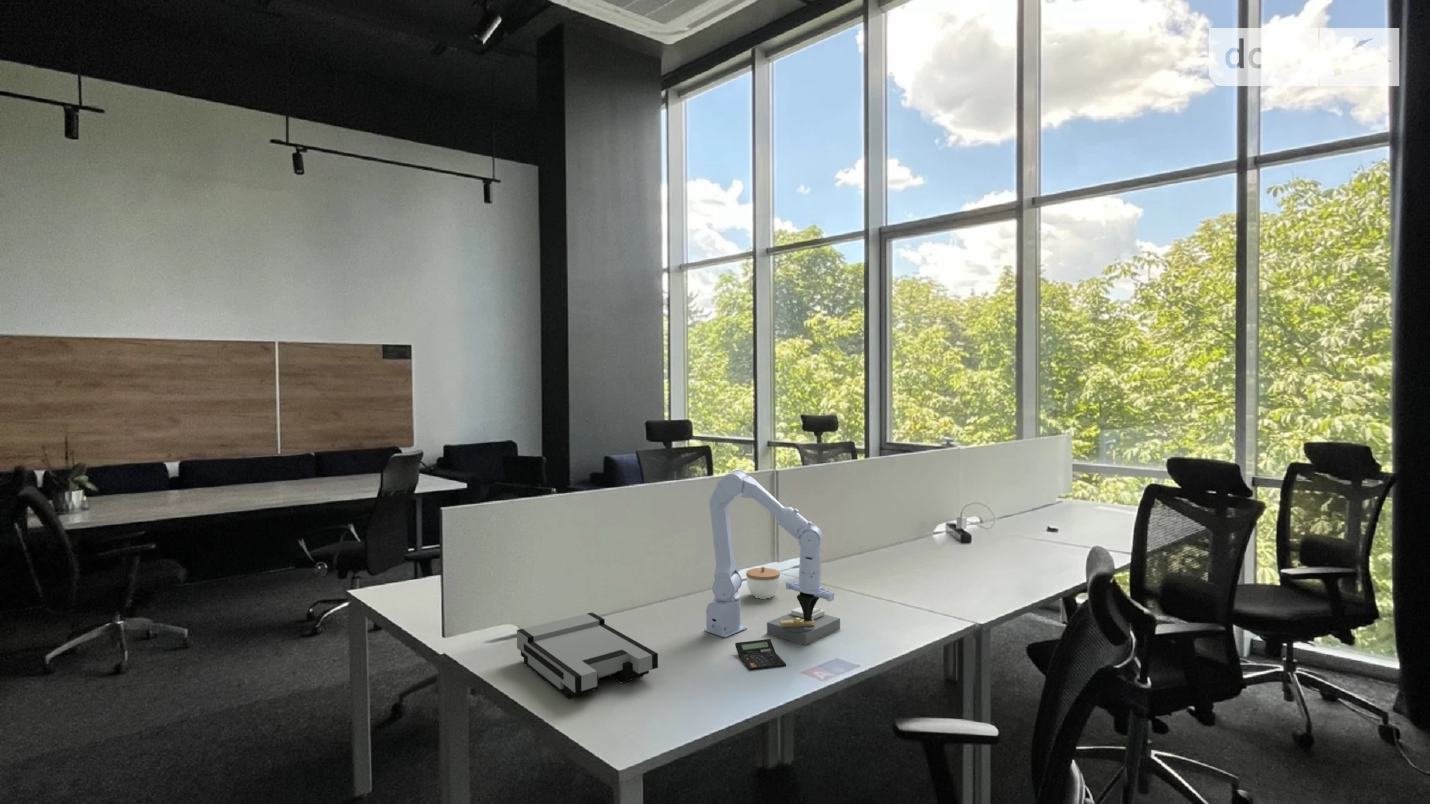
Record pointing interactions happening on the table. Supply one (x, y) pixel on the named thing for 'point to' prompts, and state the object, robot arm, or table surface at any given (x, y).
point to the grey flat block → (804, 629)
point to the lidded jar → (763, 582)
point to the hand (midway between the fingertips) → (808, 620)
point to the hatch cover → (815, 614)
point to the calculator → (759, 655)
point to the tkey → (797, 622)
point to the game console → (582, 653)
